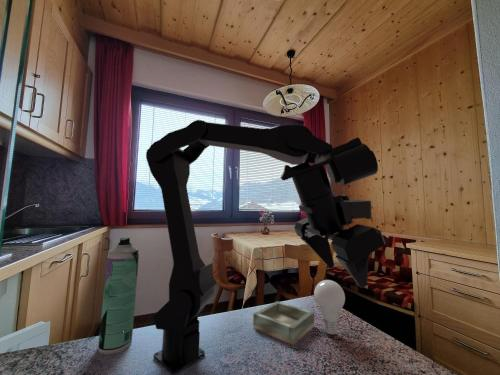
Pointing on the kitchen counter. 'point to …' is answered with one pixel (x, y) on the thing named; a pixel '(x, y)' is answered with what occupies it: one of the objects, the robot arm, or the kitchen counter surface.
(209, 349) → the kitchen counter surface
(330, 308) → the lightbulb
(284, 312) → the open box
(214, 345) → the kitchen counter surface
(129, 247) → the spray can
